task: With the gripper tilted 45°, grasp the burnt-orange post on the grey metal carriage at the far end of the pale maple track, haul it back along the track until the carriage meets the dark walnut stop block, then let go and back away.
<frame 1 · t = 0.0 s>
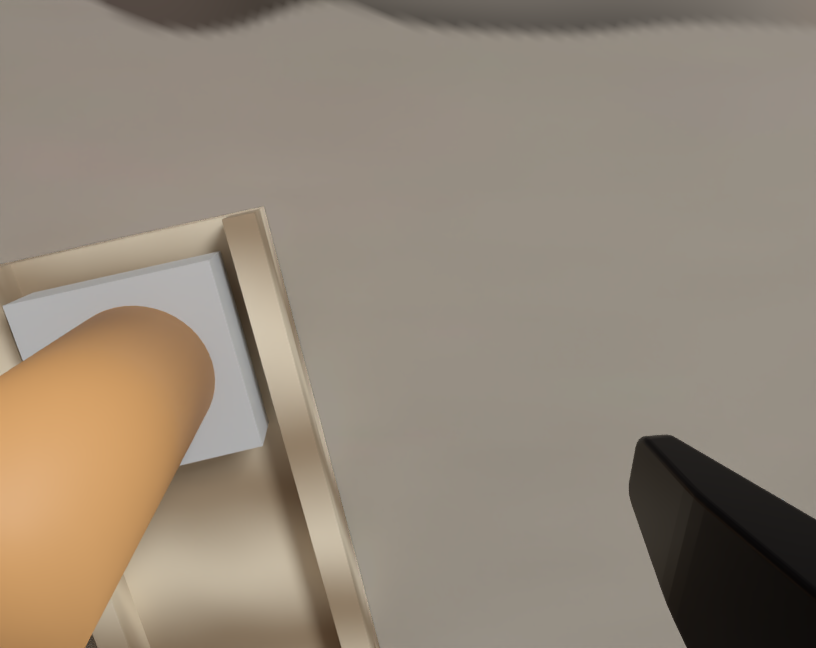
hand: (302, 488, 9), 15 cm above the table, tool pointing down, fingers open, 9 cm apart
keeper: (87, 435, 16), point 8 cm above the table, slide at 9.5 cm
track: (212, 492, 25), on the table
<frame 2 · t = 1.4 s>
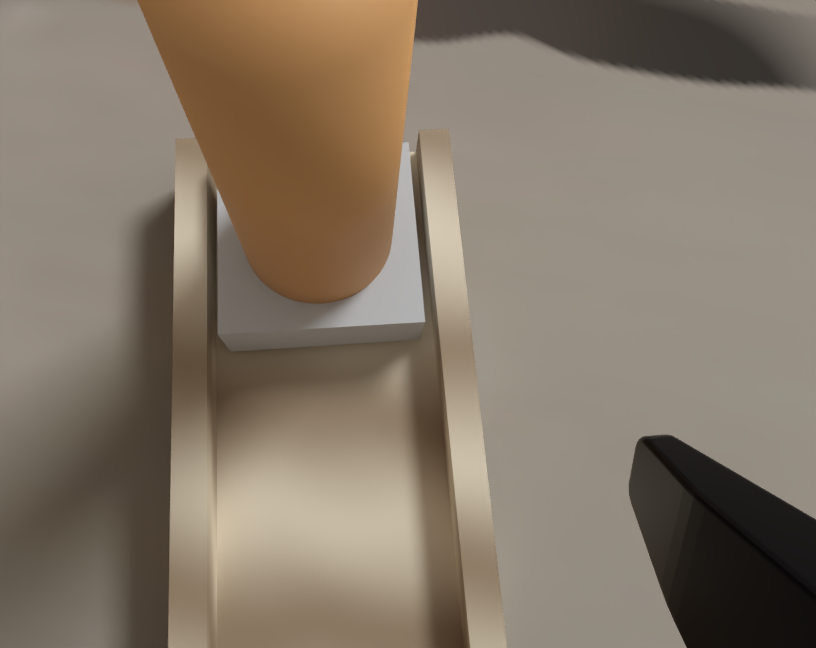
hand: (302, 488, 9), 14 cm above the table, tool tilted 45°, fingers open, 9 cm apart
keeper: (307, 161, 17), point 8 cm above the table, slide at 9.5 cm
track: (332, 438, 22), on the table
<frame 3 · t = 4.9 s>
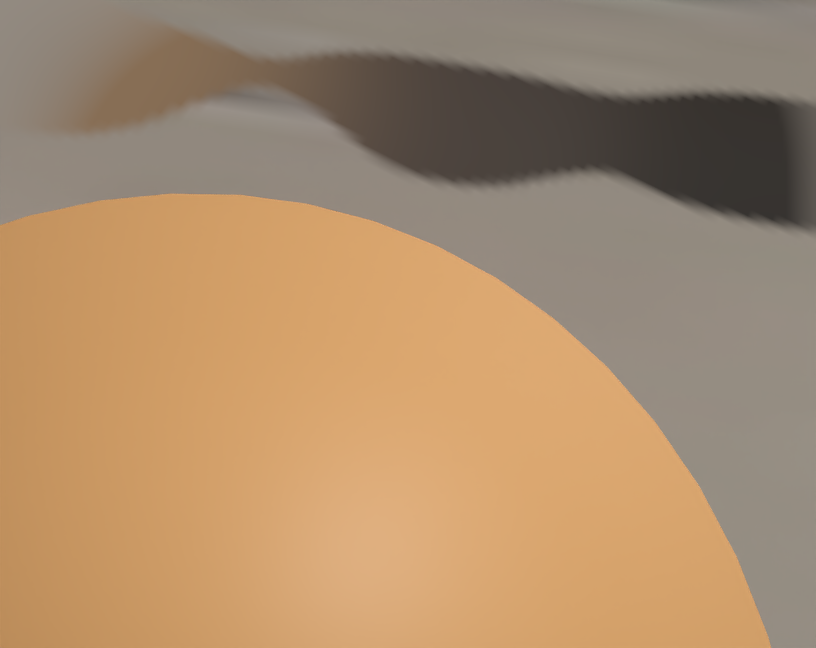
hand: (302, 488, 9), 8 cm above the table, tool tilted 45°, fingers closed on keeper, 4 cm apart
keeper: (305, 604, 8), point 8 cm above the table, slide at 9.5 cm, touching gripper
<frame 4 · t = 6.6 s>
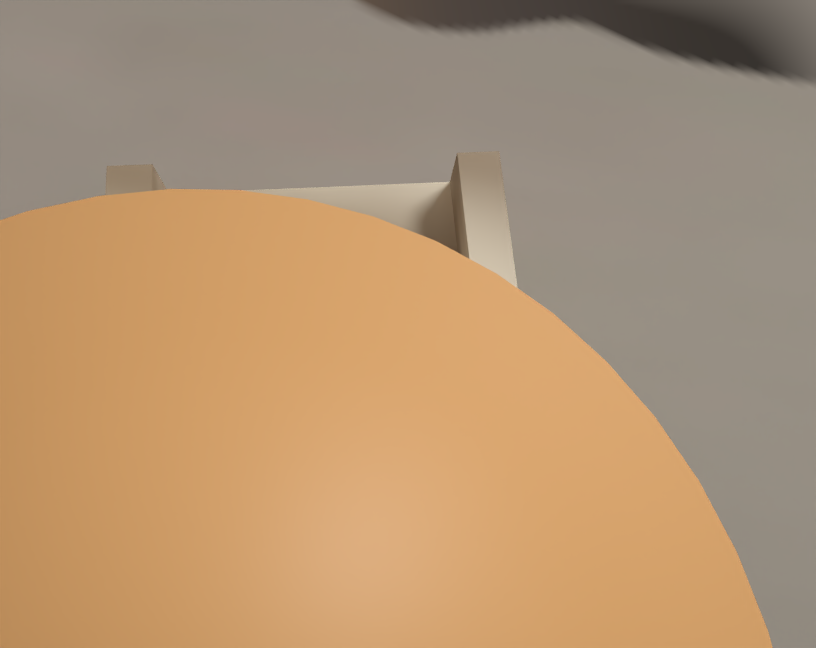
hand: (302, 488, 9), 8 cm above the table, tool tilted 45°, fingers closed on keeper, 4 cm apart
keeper: (305, 603, 8), point 8 cm above the table, slide at 4.4 cm, touching gripper
track: (333, 598, 15), on the table
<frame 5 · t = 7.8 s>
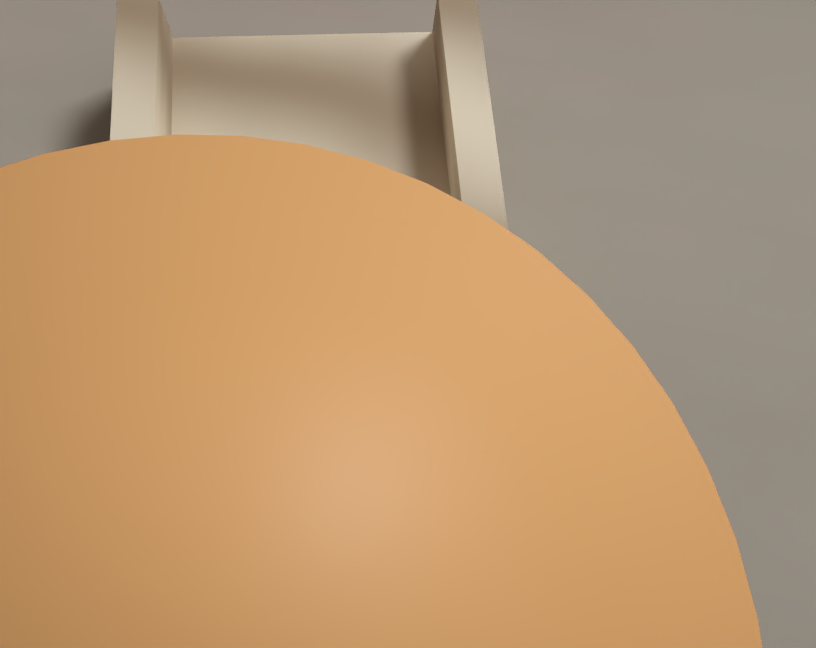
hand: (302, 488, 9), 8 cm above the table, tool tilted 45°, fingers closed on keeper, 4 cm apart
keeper: (304, 575, 8), point 8 cm above the table, slide at 0.0 cm, touching gripper
track: (323, 395, 17), on the table
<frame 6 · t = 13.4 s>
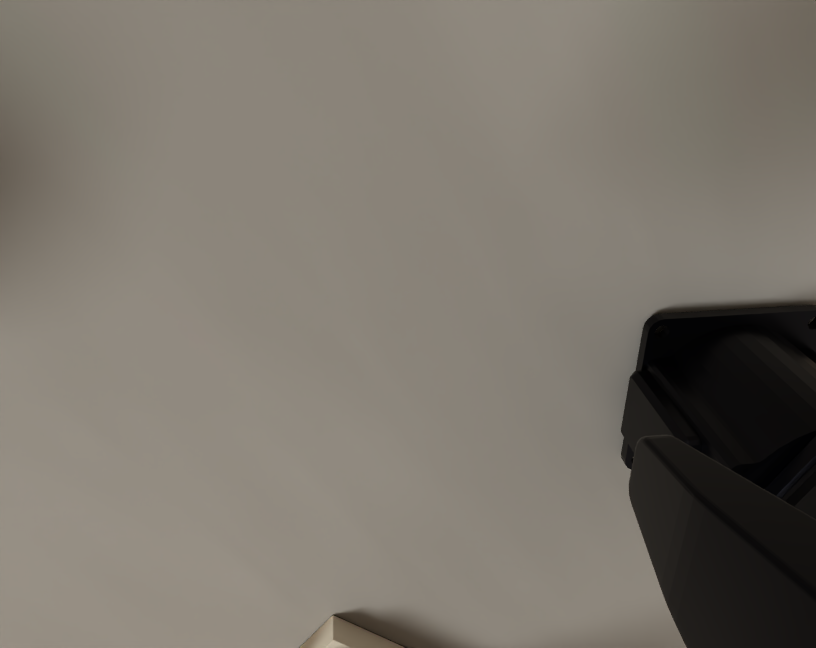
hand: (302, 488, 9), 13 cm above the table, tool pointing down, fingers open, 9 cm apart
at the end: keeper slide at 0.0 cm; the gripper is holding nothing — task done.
